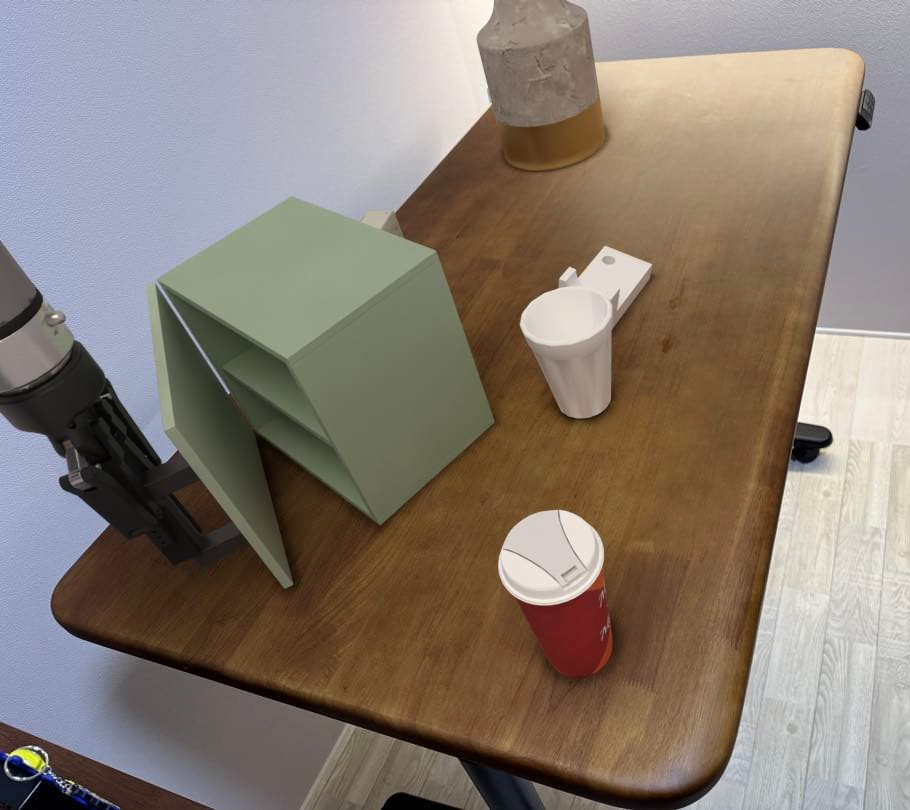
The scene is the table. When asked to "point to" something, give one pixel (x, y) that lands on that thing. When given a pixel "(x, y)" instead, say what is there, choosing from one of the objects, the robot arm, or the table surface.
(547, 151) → the vase
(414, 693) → the table surface
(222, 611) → the table surface
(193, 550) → the robot arm
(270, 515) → the cupboard door
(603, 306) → the cup
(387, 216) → the cosmetic box
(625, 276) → the bracket
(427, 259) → the cupboard
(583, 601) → the coffee cup
